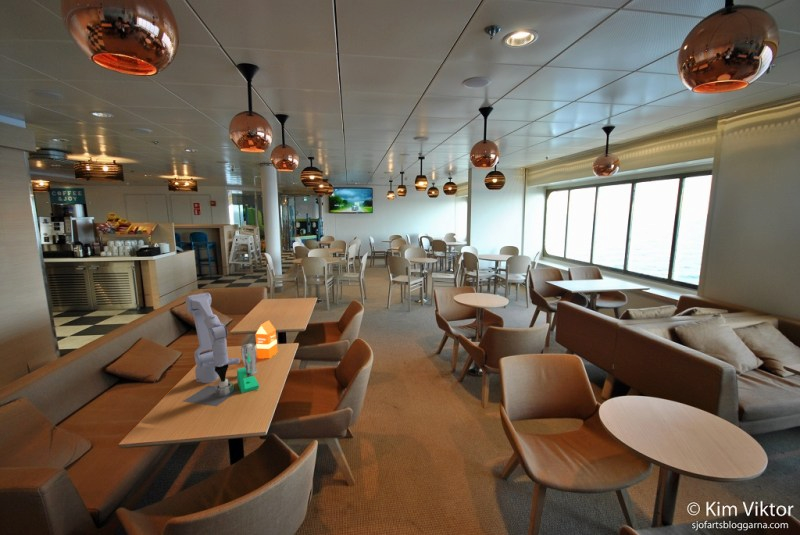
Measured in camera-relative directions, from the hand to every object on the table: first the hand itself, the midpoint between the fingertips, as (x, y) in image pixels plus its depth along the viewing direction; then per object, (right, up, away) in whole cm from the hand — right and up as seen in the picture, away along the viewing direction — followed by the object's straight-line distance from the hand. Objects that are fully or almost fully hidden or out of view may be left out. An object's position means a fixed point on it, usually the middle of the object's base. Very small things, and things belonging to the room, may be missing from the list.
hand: (223, 380), depth 150 cm
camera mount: (+8, -6, +7) cm, 12 cm away
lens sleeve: (0, -7, +1) cm, 7 cm away
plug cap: (0, -6, +1) cm, 6 cm away
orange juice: (+3, 0, +44) cm, 44 cm away
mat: (-5, -7, -1) cm, 8 cm away
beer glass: (+3, -4, +22) cm, 22 cm away
